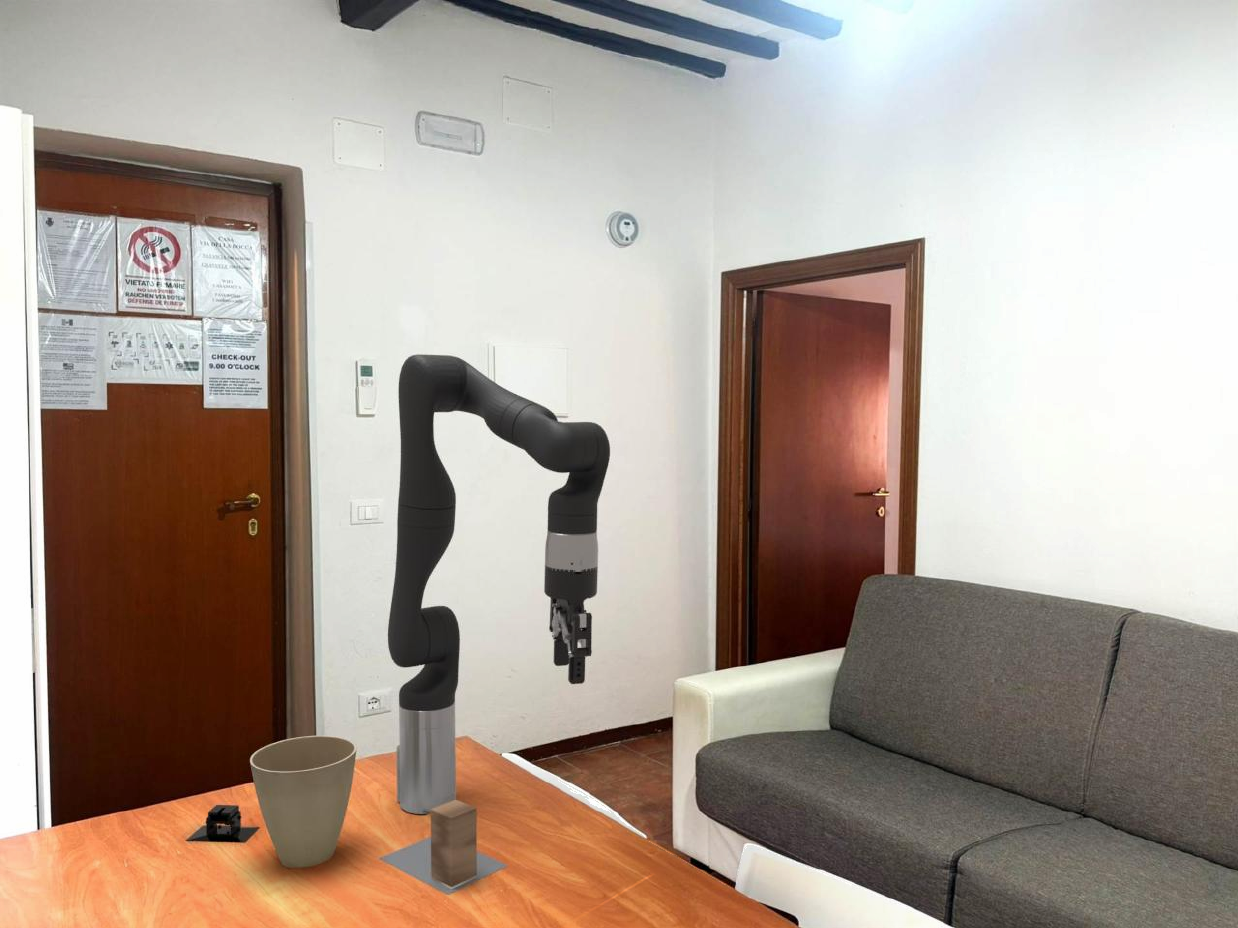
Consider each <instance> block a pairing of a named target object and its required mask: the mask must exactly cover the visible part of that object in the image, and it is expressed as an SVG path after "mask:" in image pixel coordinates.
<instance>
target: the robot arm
mask: <svg viewBox="0 0 1238 928" xmlns="http://www.w3.org/2000/svg"><path fill="white" fill-rule="evenodd" d="M400 369H401V370H400V372H399V378H398V413H399V414H398V415H399V431H400V434H399V435H400V470H399V488H398V489H399V490H398V500H397V502H398V503H397V517H396V518H397V523H396V525H397V526H396V527H397V533H396V534H397V535H396V555H395V572H394V581H393V588H392V594H391V602H390V611H389V617H388V623H387V625H388V626H387V644H388V651H389V655H390V658H391V660H392V661H393V663H394V664H395V665H396V666H397V667H400V668H403V669H404V668H412V667H419V666H423V667H422V669H421V670H420V671H419V672H418V673H417V674H416V675H415V676H414V677H412V678H411V679H409V680H408V681H407V682H405V683H404V684H403V685H402V686H400V688H399V692H398V711H399V712H398V724H399V731H398V733H399V745H397V746H396V801H397V802H398V803H399V806H400V808H401V810H403V811H405V812H407V813H410V814H417V815H429V814H430V815H431V809H433V808H435V807H438V806H441V805H443V804H446V803H448V802H451V801H453V800H457V799H456V797H457V789H456V787H457V786H456V784H457V783H456V782H457V781H456V780H457V779H456V777H457V775H456V773H457V771H456V768H457V766H456V765H457V763H456V691H457V690H458V685H459V669H460V668H459V667H460V648H461V647H460V645H461V643H460V642H461V638H460V637H461V634H460V626H459V622H458V619H457V616H456V614H455V613H454V611H453V610H452V609H451V608H450V607H448V606H446V605H434V606H428V607H422V605H423V599H424V593H425V589H426V586H427V585H428V581H429V579H430V577H431V575H432V574H433V572H434V570H435V568H436V567H437V565H438V564H439V562H440V560H441V559H442V557H443V556H444V555H445V553H446V552H447V551H446V550H447V549H448V547H449V546H450V543H451V541H452V539H453V537H454V534H455V525H456V524H455V523H456V507H457V505H456V504H457V503H456V502H457V495H456V491H455V490H456V489H455V486H454V484H453V481H452V480H451V477H450V475H449V474H448V471H447V469H446V467H445V466H444V463H443V462H442V459H441V458H440V456H439V453H438V451H437V447H436V443H435V433H434V431H435V429H434V428H435V427H434V421H435V418H434V417H435V413H452V412H463V413H468V414H472V415H476V416H478V417H480V418H481V419H482V420H483V421H484V423H485V424H486V426H487V428H488V429H489V430H490V431H491V432H492V434H494V435H495V436H497V437H498V438H500V439H501V440H503V441H505V442H507V443H509V444H511V445H513V446H515V447H517V448H519V449H522V450H523V451H524V452H525V453H526V454H528V456H530V457H531V458H532V459H533V460H534V462H536V463H537V464H538V465H539V466H541V467H542V468H544V469H546V470H548V471H551V472H555V473H560V474H567V473H568V477H567V479H566V482H565V483H564V485H563V486H562V487H560V488H557V489H556V490H554V491H552V492H551V493H550V494H549V497H548V501H547V502H548V503H547V532H546V540H545V544H544V545H545V547H544V548H545V549H544V550H545V551H544V589H543V590H544V594H545V596H547V597H549V598H550V606H549V607H550V608H549V609H550V610H549V626H548V628H549V632H550V633H551V637H552V640H553V664H554V665H555V666H557V667H561V666H568V668H567V669H568V670H567V671H568V674H567V678H568V679H567V681H568V683H570V684H571V685H579V684H581V685H582V684H583V683H584V682H585V680H586V678H585V677H586V658H587V657H592V652H593V651H592V632H593V631H592V629H593V628H592V627H593V625H592V624H593V621H592V620H593V616H592V613H591V612H587V610H586V609H585V604H584V603H585V601H586V600H587V599H592V598H594V597H595V596H596V595H597V594H598V574H599V573H598V571H599V570H598V568H599V564H598V563H599V543H598V542H599V541H598V532H597V531H598V530H597V529H598V503H599V499H600V496H601V493H602V490H603V486H604V483H605V478H606V475H607V471H608V468H609V463H610V457H611V445H610V440H609V438H608V434H607V433H606V431H605V430H604V428H603V427H602V426H601V425H599V424H598V423H596V422H591V421H574V422H573V421H572V422H571V421H570V422H566V421H565V422H563V421H559V420H558V417H557V416H556V415H555V413H554V412H553V411H552V410H551V409H549V408H547V407H545V406H544V405H541V404H539V403H537V402H535V401H533V400H531V399H527V398H526V397H523V396H520V395H518V394H516V393H514V392H511V391H510V390H508V389H506V388H504V387H502V386H501V385H500V384H498V383H496V382H495V381H493V380H492V379H490V378H489V377H488V376H486V375H485V374H483V372H481V371H479V369H477V368H475V367H474V366H472V365H471V364H470V363H469V362H467V361H466V360H464V359H462V358H461V357H458V356H454V355H443V354H419V353H418V354H412V355H411V356H409V357H407V358H406V360H404V362H403V364H402V366H401V368H400ZM578 643H579V644H580V647H578Z"/></svg>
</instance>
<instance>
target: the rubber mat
mask: <svg viewBox="0 0 1238 928" xmlns="http://www.w3.org/2000/svg"><path fill="white" fill-rule="evenodd" d="M378 859H379V860H381V861H383V862H384V863H386V864H388V865H390V866H392V867H394V868H396V869H398V870H399V871H402V872H403V873H406V874H407V875H409V876H412V878H415V879H416V880H418V881H421V882H423V883H425V884H427V885H429V886H430V887H432V888H434V889H436V890H438V891H440V892H442V893H443V894H445V895H448V896H449V895H451V894H453V893H455V892H457V891H459V890H462V889H463V888H466V887H467V886H470V885H472V884H473V883H476V882H478V881H480V880H482V879H484V878H486V877H488V876H490V875H492V874H495V873H497V872H499V871H501V870H503V869H505V868H507V867H509V865H507V864H505V863H503V862H501V861H499V860H498V859H495V858H492V857H490V856H488V855H487V854H484V853H482V852H480V851H477V878H474V879H472V880H470V881H468V882H466V883H464V884H462V885H460V886H458V887H456V888H454V889H450V888H448V887H446V886H444V885H442V884H440V883H438V882H437V881H435V880H433V879H431V836H429V837H426V838H423V839H422V840H420V841H417V842H415V843H412V844H409V845H407V846H405V847H403V848H400V849H398V850H395V851H392V852H391V853H389V854H388V853H387V854H386V855H383V856H380V857H379V858H378Z"/></svg>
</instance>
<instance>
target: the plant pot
mask: <svg viewBox="0 0 1238 928" xmlns="http://www.w3.org/2000/svg"><path fill="white" fill-rule="evenodd" d="M356 756H357V744H356V743H355V742H354V741H352V740H351V739H348V738H345V737H341V736H337V735H308V736H307V735H306V736H298V737H293V738H287V739H283V740H280V741H277V742H274V743H270V744H267V745H265V746H264V747H261V748H260V749H258V750H256V751H255V752H254V753H253V754H252V755H251V756H250V758H249V763H250V768H251V774H252V778H253V779H252V780H253V785H254V789H255V795H256V797H257V802H258V805H259V809H260V811H261V815H262V818H263V821H264V825H265V827H266V829H267V832H268V835H269V838H270V840H271V843H272V845H273V848H274V850H275V852H276V854H277V856H278V858H279V861H280V863H281V864H282V865H283V866H284V867H285V868H289V869H293V868H308V867H313V866H317V865H321V864H323V863H325V862H327V861H329V860H330V859H331V858H332V857H333V855H334V854H335V851H336V847H337V845H338V843H339V842H338V841H339V838H340V836H341V832H342V830H343V829H342V828H343V826H344V822H345V819H346V814H347V810H348V806H349V801H350V796H351V792H352V787H353V781H354V780H353V779H354V775H355V774H354V773H355V765H356Z"/></svg>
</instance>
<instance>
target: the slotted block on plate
mask: <svg viewBox="0 0 1238 928" xmlns="http://www.w3.org/2000/svg"><path fill="white" fill-rule="evenodd" d="M241 819H242V816H241V810H240V808H239V805H234V804H216V805H215V806H214V807H212V808H211V809H210V810H209V811H208V812H207V817H206V819H205V824H206V825H205V824H204V825H202V826H201V827H199V828H198V829H197V830H196V831H195V832H194V833H193V834H191V835H190V836H189V837H188V838H187V839H185V842H207V843H211V842H212V843H239V844H244V843H245V844H246V843H247V842H248V841H249V840H250V839H251V838H252V837H253V836H254V835H255V834H256V833H257V832H258V831H259V829H261V827H260V826H242V823H241V822H242V820H241Z"/></svg>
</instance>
